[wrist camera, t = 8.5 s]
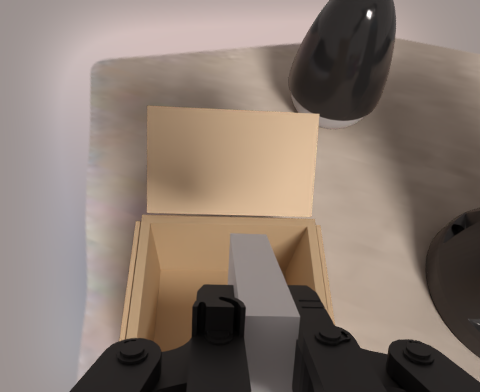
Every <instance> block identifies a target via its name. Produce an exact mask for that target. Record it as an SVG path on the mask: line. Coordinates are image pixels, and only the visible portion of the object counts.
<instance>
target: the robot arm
mask: <svg viewBox="0 0 480 392" xmlns="http://www.w3.org/2000/svg"><path fill="white" fill-rule="evenodd" d="M426 276H427V282H428V287H429V290H430V293H431V296H432V299H433V301H434V304H435V306H436V308H437V310H438V312H439V313H440V315H441V317H442V318H443V320H444V321H445V323H446V324H447V326H448V327H449V328H450V330H451V331H452V332H453V333H454V334H455V336H456V337H457V338H458V339H459V340H460V341H461V342H462V343H463V344H464V345H465V346H466V347H467V348H468V349H469V350H471V351H472V352H473V353H474V354H475V355H477V356H478V357H479V358H480V208H477V209H474V210H471V211H468V212H466V213H464V214H462V215H460V216H458V217H456V218H455V219H454V220H452V221H451V222H450V223H449V224H448V225H447V226H446V227H444V228H443V229H442V230H441V231H440V232H439V233H438V234H437V235H436V237H435V238H434V239H433V241H432V243H431V245H430V247H429V250H428V254H427V259H426ZM70 392H480V382H479V381H477V380H476V379H475V378H473V377H472V376H471V375H469V374H468V373H467V372H466V371H464V370H463V369H462V368H460V367H459V366H458V365H456V364H455V363H454V362H453V361H451V360H450V359H449V358H447V357H446V356H445V355H443V354H442V353H441V352H439V351H438V350H436V349H435V348H433V347H431V346H429V345H427V344H424V343H422V342H420V341H416V340H415V341H414V340H409V339H408V340H397V341H394V342H392V343H391V344H390V346H389V349H388V354H383V353H378V352H373V351H369V350H365V349H361V348H360V346H359V345H358V343H357V341H356V340H355V338H354V337H353V336H352V335H351V334H350V333H349V332H347V331H346V330H344V329H342V328H340V327H337V326H335V325H334V323H333V321H332V319H331V318H330V316H329V314H328V312H327V310H326V309H325V307H324V305H323V303H322V302H321V300H320V298H319V296H318V294H317V292H315V291H314V290H312V289H311V288H310V287H308V286H307V285H287V283H286V281H285V279H284V276H283V274H282V271H281V269H280V266H279V264H278V262H277V259H276V257H275V254H274V252H273V250H272V247H271V245H270V242H269V240H268V237H267V235H266V234H238V233H230V248H229V267H228V285H213V284H204V285H203V286H202V287H201V288H200V289H199V290H198V291H197V298H196V301H195V302H194V304H193V306H192V337H191V339H190V340H189V341H188V342H187V343H186V344H184V345H183V346H180V347H178V348H176V349H172V350H169V351H164V352H162V351H161V349H160V346H159V345H158V344H156V343H155V342H154V341H151V340H148V339H145V338H130V339H125V340H121V341H119V342H117V343H114V344H112V345H111V346H110V347H109V348H107V349H106V350H105V351H104V352H103V354H102V355H101V356H100V357H99V358H98V359H97V361H96V362H95V363H94V364H93V365H92V366H91V367H90V369H89V370H88V371H87V372H86V373H85V374H84V376H83V377H82V378H81V379H80V380H79V381H78V382H77V384H76V385H75V386H74V387H73V388H72V389H71V391H70Z"/></svg>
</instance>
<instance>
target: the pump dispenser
mask: <svg viewBox="0 0 480 392" xmlns="http://www.w3.org/2000/svg"><path fill="white" fill-rule="evenodd" d="M395 32H396V15H395V7H394V2H393V0H329V2H328V3H327V4H326V5H325V7H324V8H323V9H322V10H321V12H320V13H319V15H318V16H317V18H316V19H315V21H314V22H313V24H312V26H311V27H310V29H309V31H308V32H307V34H306V36H305V38H304V40H303V42H302V44H301V46H300V48H299V50H298V52H297V54H296V57H295V59H294V61H293V64H292V67H291V70H290V74H289V79H288V84H289V89H290V92H291V98H292V101H293V104H294V106H295V108H296V110H297V111H298V112H299V113H312V114H319V127H321V128H326V129H341V128H345V127H348V126H351V125H353V124H355V123H357V122H358V121H360V120H361V119H362V118H364V117H365V116H366V115H368V114H369V113H371V112H372V111H373V110H374V109H375V107H376V106H377V104H378V102H379V100H380V98H381V96H382V93H383V90H384V87H385V84H386V81H387V78H388V74H389V70H390V66H391V61H392V55H393V49H394V42H395Z"/></svg>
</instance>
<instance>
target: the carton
mask: <svg viewBox="0 0 480 392" xmlns="http://www.w3.org/2000/svg"><path fill="white" fill-rule="evenodd" d="M230 233H238V234H266V235H267V237H268V240H269V242H270V245H271V247H272V250H273V252H274V254H275V257H276V259H277V262H278V264H279V266H280V269H281V271H282V274H283V276H284V279H285V281H286V283H287V285H307V286H308V287H310V288H311V289H312V290H314V291H315V292H317V294H318V296H319V298H320V300H321V302H322V303H323V305H324V307H325V309H326V310H327V312H328V314H329V316H330V318H331V319H332V321H333V323H334V325H335V321H334V315H333V308H332V301H331V294H330V288H329V281H328V274H327V267H326V261H325V254H324V247H323V240H322V234H321V227H320V225H316V224H315V219H295V218H254V217H213V216H172V215H142V220H141V222H140V221H136V224H135V232H134V239H133V246H132V253H131V260H130V267H129V275H128V282H127V289H126V296H125V303H124V311H123V318H122V325H121V332H120V339H119V341H121V340H125V339H130V338H145V339H148V340H151V341H154V342H155V343H156V344H158V345H159V346H160V349H161V351H162V352H164V351H169V350H172V349H176V348H178V347H180V346H183V345H184V344H186V343H187V342H188V341H189V340H190V339H191V337H192V306H193V304H194V302H195V301H196V298H197V291H198V290H199V289H200V288H201V287H202V286H203V285H204V284H213V285H228V267H229V248H230Z"/></svg>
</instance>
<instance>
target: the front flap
mask: <svg viewBox="0 0 480 392" xmlns="http://www.w3.org/2000/svg"><path fill="white" fill-rule="evenodd" d="M318 127H319V114H312V113H291V112H270V111H249V110H228V109H208V108H187V107H166V106H147V213H171V214H211V215H251V216H291V217H311V215H312V202H313V190H314V177H315V165H316V152H317V139H318Z"/></svg>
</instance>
